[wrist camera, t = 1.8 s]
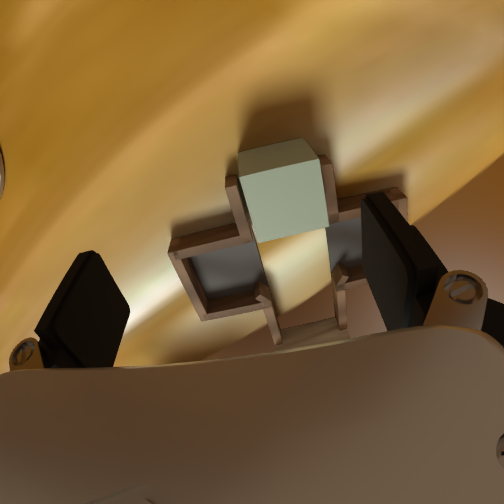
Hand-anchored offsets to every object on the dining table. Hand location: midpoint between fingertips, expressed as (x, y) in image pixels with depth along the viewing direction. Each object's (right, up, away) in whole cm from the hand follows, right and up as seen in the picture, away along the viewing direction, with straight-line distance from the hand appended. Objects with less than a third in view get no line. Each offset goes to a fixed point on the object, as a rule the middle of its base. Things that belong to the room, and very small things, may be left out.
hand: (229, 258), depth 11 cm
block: (+3, +7, +19) cm, 20 cm away
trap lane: (+5, 0, +24) cm, 25 cm away
